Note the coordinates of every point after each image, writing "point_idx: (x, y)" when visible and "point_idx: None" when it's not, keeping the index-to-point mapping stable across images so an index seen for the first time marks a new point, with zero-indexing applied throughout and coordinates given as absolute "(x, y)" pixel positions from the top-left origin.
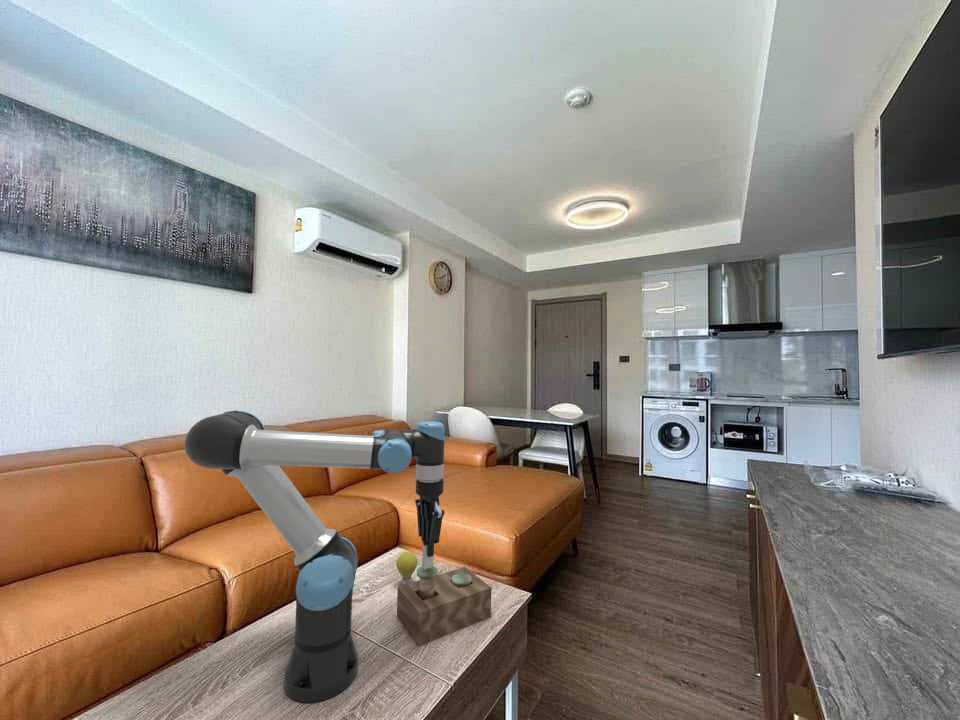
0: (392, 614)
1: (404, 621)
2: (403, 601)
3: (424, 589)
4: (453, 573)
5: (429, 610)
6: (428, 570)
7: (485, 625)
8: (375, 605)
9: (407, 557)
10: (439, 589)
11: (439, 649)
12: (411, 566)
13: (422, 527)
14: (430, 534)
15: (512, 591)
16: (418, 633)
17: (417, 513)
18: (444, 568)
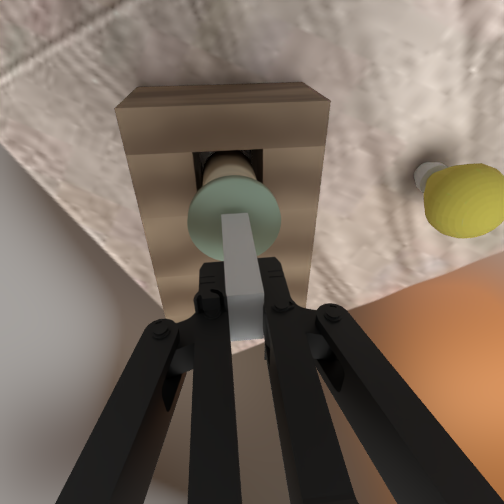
0: (321, 73)
1: (243, 86)
2: (264, 97)
3: (209, 176)
4: (290, 290)
5: (126, 150)
6: None
7: (152, 264)
8: (403, 36)
9: (468, 209)
10: None
11: (103, 135)
12: (432, 205)
13: (302, 381)
14: (142, 390)
15: (236, 348)
16: (135, 93)
17: (468, 472)
18: (410, 280)
